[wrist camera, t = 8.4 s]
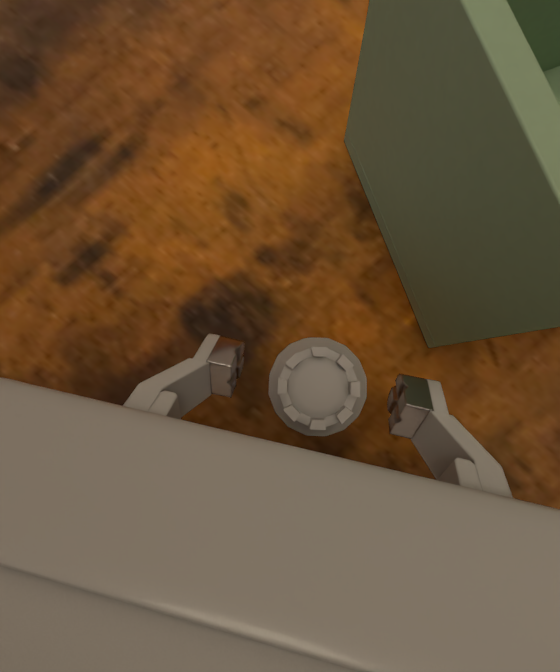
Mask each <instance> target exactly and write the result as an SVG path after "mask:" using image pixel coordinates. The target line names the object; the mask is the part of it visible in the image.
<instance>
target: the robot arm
mask: <svg viewBox="0 0 560 672" xmlns="http://www.w3.org/2000/svg"><path fill="white" fill-rule="evenodd" d="M244 349H245V342H244V341H241V340H237V339H233V338H229V337H224V336H219V335H215V334H211V333H209V334H208V335H207V336H206V338H205V339H204V341H203V343H202V344H201V346H200V348H199V349H198V351H197V352H196V354H195V356H194V357H193V359H191V358H189V359H187V360H185V361H183V362H181V363H179V364H177V365H175V366H173V367H171V368H169V369H167V370H165V371H163V372H161V373H159V374H157V375H155V376H153V377H151V378H149V379H147V380H145V381H143V382H141V383H139V384H138V386H137V387H136V388H135V390H134V391H133V392H132V394H131V395H130V396H129V398H128V399H127V401H126V402H125V403H124V405H123V406H121V405H117V404H113V403H108V402H104V401H100V400H96V399H92V398H87V397H83V396H79V395H75V394H70V393H66V392H62V391H58V390H53V389H49V388H45V387H41V386H37V385H32V384H28V383H24V382H20V381H17V380H13V379H8V378H2V377H0V672H560V509H556V508H552V507H548V506H544V505H540V504H535V503H531V502H527V501H523V500H518V499H514V498H513V497H512V494H511V491H510V488H509V485H508V483H507V480H506V477H505V474H504V471H503V468H502V466H501V465H500V464H499V463H498V462H497V461H496V460H495V459H494V458H493V457H492V456H491V455H490V454H489V453H488V452H487V451H486V450H485V449H484V447H483V446H482V445H481V444H480V443H479V442H478V441H477V440H476V439H475V438H474V437H473V436H472V435H471V434H470V433H469V432H468V431H467V430H466V429H465V428H464V427H463V425H462V424H461V423H460V422H459V421H458V420H457V419H456V418H455V417H454V416H453V415H449V412H448V409H447V405H446V401H445V397H444V394H443V390H442V386H441V383H440V382H439V381H435V380H430V379H424V378H419V377H414V376H409V375H404V374H399V375H398V376H397V378H396V380H395V381H396V386H394V387H392V388H391V390H390V393H389V396H388V402H387V408H388V411H389V413H390V414H391V415H390V417H389V419H388V422H389V434H393V435H397V436H401V437H405V438H409V439H411V441H412V442H413V444H414V446H415V447H416V449H417V450H418V452H419V453H420V455H421V457H422V458H423V460H424V461H425V463H426V464H427V466H428V467H429V469H430V471H431V472H432V474H433V475H434V477H435V478H436V480H434V479H430V478H426V477H421V476H417V475H413V474H409V473H404V472H400V471H396V470H392V469H388V468H383V467H379V466H375V465H371V464H366V463H362V462H358V461H354V460H349V459H345V458H341V457H337V456H333V455H328V454H324V453H320V452H316V451H311V450H307V449H303V448H299V447H295V446H290V445H286V444H282V443H278V442H273V441H269V440H265V439H261V438H257V437H252V436H248V435H244V434H240V433H235V432H231V431H227V430H223V429H218V428H214V427H210V426H206V425H202V424H197V423H193V422H189V421H185V420H181V417H182V416H184V415H185V414H186V413H188V412H189V411H190V410H192V409H193V408H194V407H196V406H197V405H198V404H200V403H201V402H202V401H204V400H205V399H206V398H208V397H209V396H210V395H211V394H215V395H220V396H225V397H230V398H231V397H232V395H233V392H234V390H235V387H236V379H238V378H240V375H241V373H242V369H243V365H244V355H243V354H242V353H243V351H244Z"/></svg>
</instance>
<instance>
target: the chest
mask: <svg viewBox="0 0 560 672" xmlns="http://www.w3.org/2000/svg"><path fill="white" fill-rule="evenodd" d="M344 142H345V144H346V147H347V149H348V152H349V154H350V157H351V159H352V162H353V164H354V167H355V169H356V171H357V174H358V176H359V179H360V181H361V184H362V186H363V189H364V191H365V194H366V196H367V198H368V201H369V203H370V206H371V208H372V211H373V213H374V216H375V218H376V221H377V223H378V225H379V228H380V230H381V233H382V235H383V238H384V240H385V243H386V245H387V248H388V250H389V252H390V255H391V257H392V260H393V262H394V265H395V267H396V270H397V272H398V275H399V277H400V279H401V282H402V284H403V287H404V289H405V292H406V294H407V297H408V299H409V302H410V304H411V306H412V309H413V311H414V314H415V316H416V319H417V321H418V324H419V326H420V329H421V331H422V333H423V336H424V338H425V341H426V343H427V346H428V348H432V347H438V346H444V345H450V344H457V343H463V342H469V341H475V340H481V339H487V338H494V337H500V336H506V335H512V334H518V333H524V332H530V331H537V330H543V329H549V328H555V327H560V0H370V1H369V7H368V12H367V18H366V23H365V29H364V34H363V40H362V45H361V51H360V56H359V62H358V67H357V73H356V78H355V84H354V89H353V95H352V100H351V106H350V111H349V117H348V122H347V129H346V132H345V138H344Z"/></svg>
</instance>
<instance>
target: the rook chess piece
mask: <svg viewBox="0 0 560 672" xmlns="http://www.w3.org/2000/svg"><path fill="white" fill-rule="evenodd" d="M269 396H270V399H271V402H272V405H273V407H274V410H275V412H276V414H277V415H278V416H279V417H280V418H281V419H282V420H283V421H284V422H285V424H286V425H287V426H288V427H290V428H292V429H294V430H296V431H298V432H300V433H302V434H305V435H309V436H328V435H331V434H334V433H336V432H339V431H342V430H345V429H346V428H347V427H348V426H349V425H350V424H351V423H352V422H353V421H354V420H355V419H356V418H357V417H358V416H359V414H360V412H361V410H362V407H363V405H364V403H365V400H366V398H367V378H366V375H365V373H364V370H363V368H362V365H361V363H360V360H359V359H358V358H357V357H356V356H355V355H354V354H353V353H352V352H351V351H350V350H349V349H348V348H347V347H346V346H345V345H343V344H340V343H338V342H336V341H334V340H331V339H329V338H304V339H302V340H299V341H296V342H294V343H291V344H289V345H288V346H287V347H286V348H285V349H284V350H283V351H282V352H281V353H280V354H279V355H278V356H277V358H276V360H275V362H274V365H273V367H272V369H271V372H270V374H269Z"/></svg>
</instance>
